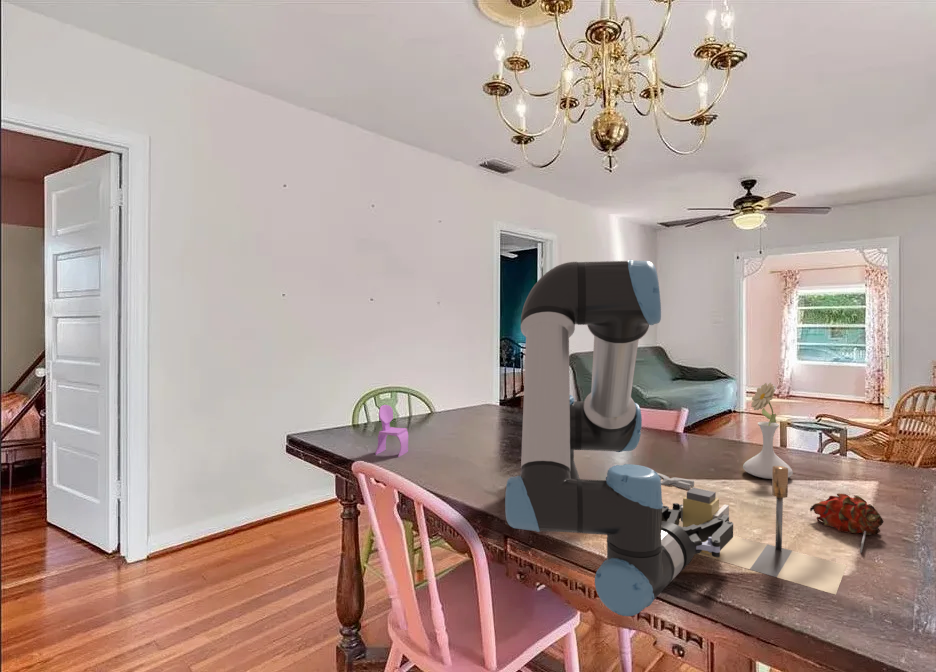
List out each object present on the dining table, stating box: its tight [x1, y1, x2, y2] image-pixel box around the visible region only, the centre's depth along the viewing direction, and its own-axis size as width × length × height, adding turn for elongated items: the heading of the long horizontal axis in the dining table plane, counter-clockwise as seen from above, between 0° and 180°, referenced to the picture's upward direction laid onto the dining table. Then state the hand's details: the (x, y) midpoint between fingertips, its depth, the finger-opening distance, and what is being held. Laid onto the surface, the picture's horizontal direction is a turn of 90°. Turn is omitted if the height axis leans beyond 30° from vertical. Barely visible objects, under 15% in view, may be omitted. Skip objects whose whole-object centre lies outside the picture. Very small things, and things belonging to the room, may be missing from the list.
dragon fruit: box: [809, 492, 884, 536], centre depth 105 cm, size 8×8×12 cm
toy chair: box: [374, 404, 409, 458], centre depth 166 cm, size 8×9×15 cm
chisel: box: [771, 466, 789, 551], centre depth 96 cm, size 2×2×15 cm
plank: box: [678, 521, 847, 596], centre depth 97 cm, size 32×12×1 cm, turn 48°
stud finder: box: [682, 486, 720, 555], centre depth 97 cm, size 5×4×10 cm
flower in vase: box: [742, 382, 794, 480], centre depth 138 cm, size 13×11×25 cm
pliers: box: [655, 471, 695, 490], centre depth 137 cm, size 10×2×15 cm
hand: (710, 508), depth 101 cm, fingers closed on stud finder, 5 cm apart
